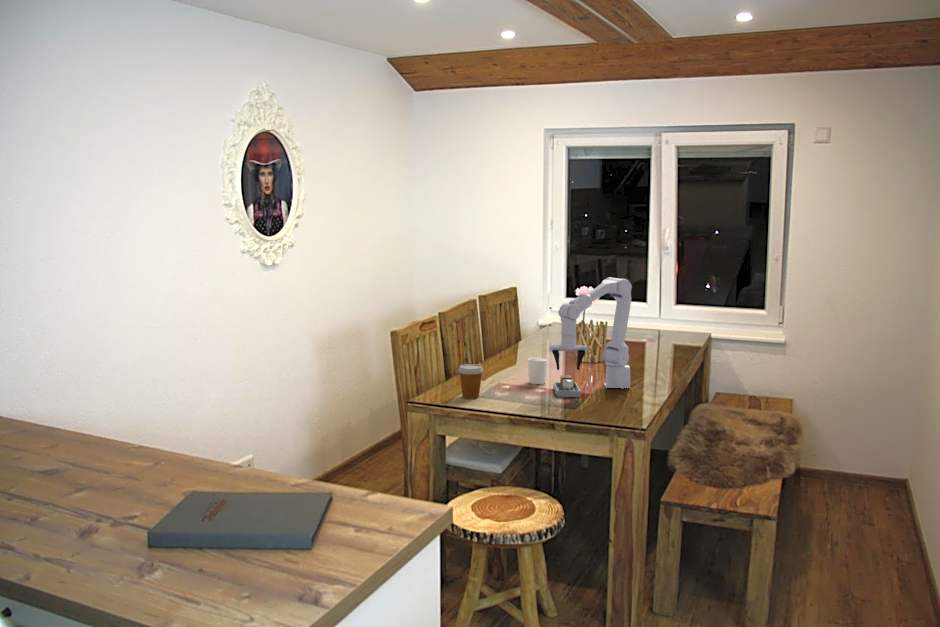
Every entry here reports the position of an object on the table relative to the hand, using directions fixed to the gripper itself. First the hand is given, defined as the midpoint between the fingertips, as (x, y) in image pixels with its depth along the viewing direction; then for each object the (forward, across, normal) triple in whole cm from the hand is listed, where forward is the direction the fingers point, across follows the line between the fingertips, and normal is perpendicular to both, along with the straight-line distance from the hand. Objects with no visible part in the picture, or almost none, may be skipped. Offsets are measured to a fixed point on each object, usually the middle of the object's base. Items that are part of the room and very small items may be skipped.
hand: (568, 369), depth 307 cm
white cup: (+10, -10, +19) cm, 24 cm away
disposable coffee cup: (+10, -38, -5) cm, 39 cm away
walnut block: (+9, 0, +6) cm, 11 cm away
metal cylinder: (+9, 0, 0) cm, 9 cm away
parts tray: (+10, 0, +3) cm, 10 cm away
